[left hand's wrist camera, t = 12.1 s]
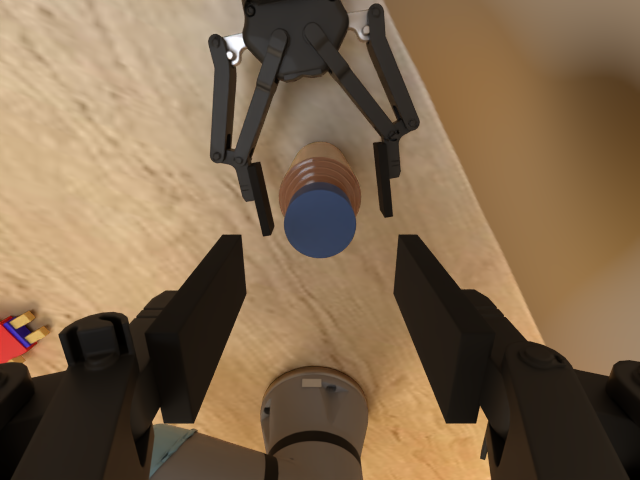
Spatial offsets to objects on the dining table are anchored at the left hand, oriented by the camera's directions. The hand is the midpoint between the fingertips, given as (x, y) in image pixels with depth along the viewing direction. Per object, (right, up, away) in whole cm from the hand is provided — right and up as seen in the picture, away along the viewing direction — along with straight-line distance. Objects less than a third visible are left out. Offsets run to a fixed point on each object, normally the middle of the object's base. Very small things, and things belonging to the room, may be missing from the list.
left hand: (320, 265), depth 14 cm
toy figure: (-42, -12, +31) cm, 53 cm away
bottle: (0, +9, +23) cm, 25 cm away
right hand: (+1, +3, +19) cm, 19 cm away
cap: (0, +2, +5) cm, 6 cm away
